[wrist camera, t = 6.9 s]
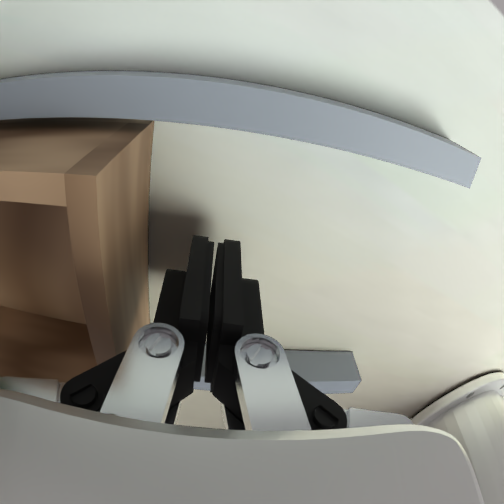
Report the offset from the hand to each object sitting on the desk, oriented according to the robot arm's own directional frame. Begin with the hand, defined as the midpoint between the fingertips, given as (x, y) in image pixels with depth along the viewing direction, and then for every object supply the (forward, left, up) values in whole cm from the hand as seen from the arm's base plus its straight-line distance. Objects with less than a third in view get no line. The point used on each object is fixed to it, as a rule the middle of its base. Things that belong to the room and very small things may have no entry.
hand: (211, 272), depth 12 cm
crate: (+8, 0, -1) cm, 8 cm away
